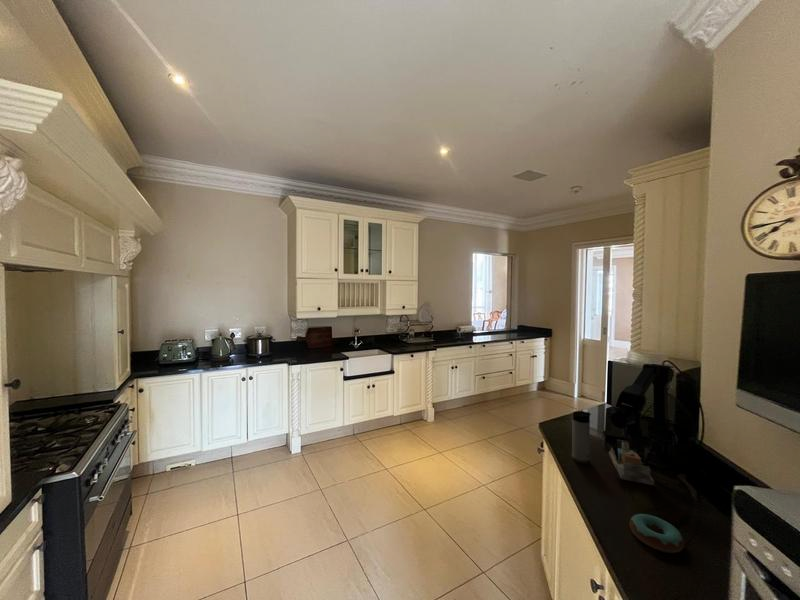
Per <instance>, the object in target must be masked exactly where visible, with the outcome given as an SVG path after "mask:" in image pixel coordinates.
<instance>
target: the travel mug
mask: <svg viewBox="0 0 800 600" xmlns="http://www.w3.org/2000/svg"><path fill="white" fill-rule="evenodd" d="M591 415H592V414H591V413H590V412H589V411H583V410H578V411H577V410H576V411H574V412H572V433H571V434H572V435H571V436H572V437H571V439H572V440H571V441H572V442H571V444H572V445H571V459H572V460H574V461H575V462H578V463H579V464H581V463H582V464H588V463H589V462H590V434H591V433H590V432H591V431H590V430H591V429H590V427H591V426H590V425H591V423H590V422H591V420H590V417H591Z"/></svg>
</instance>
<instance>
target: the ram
mask: <svg viewBox="0 0 800 600" xmlns="http://www.w3.org/2000/svg"><path fill="white" fill-rule="evenodd" d="M622 451H627V452H633V453H636V451H634V450H633V449H631V450H630V447H629V444H628V442H622V441H621V448H620V447H618V457H619V459H620V461H622Z"/></svg>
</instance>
